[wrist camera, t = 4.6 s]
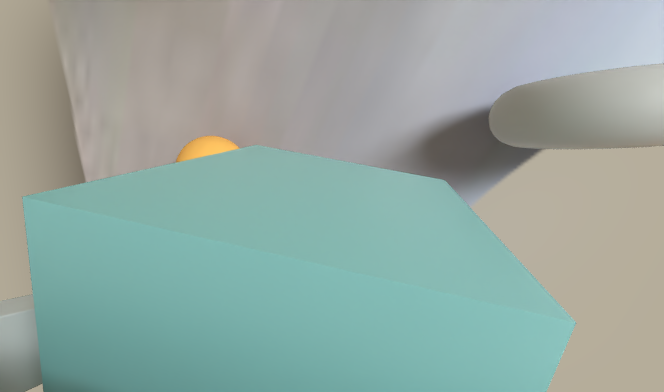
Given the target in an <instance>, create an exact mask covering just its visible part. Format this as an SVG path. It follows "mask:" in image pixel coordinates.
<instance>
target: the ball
mask: <svg viewBox="0 0 664 392" xmlns="http://www.w3.org/2000/svg"><path fill="white" fill-rule="evenodd" d="M235 149H240V148H239V147H238V146H236V145H235V144H234V143H233V142H231V141H229V140H227V139H225V138H222V137H218V136H204V137H200V138H197V139H195V140H193V141H191V142H190V143H188V144H187V145H186V146H185V147H184V148H183V149H182V150H181V152H180V154H179V155H178V158H177V160H176V163H177V162H181V161H186V160H190V159H195V158H199V157H204V156H208V155H213V154H217V153H222V152H226V151H231V150H235Z"/></svg>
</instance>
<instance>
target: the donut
mask: <svg viewBox="0 0 664 392" xmlns="http://www.w3.org/2000/svg"><path fill="white" fill-rule="evenodd" d="M488 120H489V126H490V130H491V131H492V133H493V135H494V136H495V137H496V138H497V139H498V140H499V141H500V142H502V143H505V144H507V145H510V146H513V147H521V148H534V149H608V148H609V149H611V148H635V147H652V146H664V64H651V65H642V66H633V67H624V68H616V69H608V70H601V71H594V72H587V73H580V74H574V75H568V76H562V77H556V78H551V79H546V80H541V81H537V82H532V83H528V84H524V85H521V86H517V87H515V88H513V89H511V90H509V91H507V92H506V93H504V94H502V95H501V96H500V97H499V98H498V99H497V100H496V101H495V103H494V104H493V106H492V108H491V110H490V114H489V119H488Z"/></svg>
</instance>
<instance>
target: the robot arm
mask: <svg viewBox="0 0 664 392" xmlns="http://www.w3.org/2000/svg"><path fill="white" fill-rule="evenodd" d="M42 383H43V382H42V373H41V363H40V354H39V345H38V336H37V327H36V318H35V308H34V299H33V294H32V295H27V296H22V297H17V298H12V299H8V300H2V301H0V392H25V391H27V390H29V389H32V388H34V387H36V386H38V385H40V384H42Z"/></svg>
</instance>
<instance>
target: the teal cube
mask: <svg viewBox="0 0 664 392" xmlns="http://www.w3.org/2000/svg"><path fill="white" fill-rule="evenodd" d="M22 199H23V208H24V216H25V226H26V235H27V244H28V253H29V263H30V271H31V281H32V290H33V299H34V308H35V318H36V327H37V336H38V345H39V354H40V363H41V373H42V382H43V391H44V392H546V391H547V389H548V386H549V384H550V382H551V379H552V377H553V375H554V373H555V371H556V368H557V366H558V364H559V361H560V359H561V356H562V354H563V352H564V350H565V347H566V345H567V343H568V341H569V338H570V336H571V334H572V331H573V329H574V326H575V324H576V322H575V321H574V320H573V319H572V318H571V316H570V315H569V314H568V313H567V312H566V311H565V310H564V309H563V308H562V307H561V306H560V305H559V304H558V303H557V301H556V300H555V299H554V298H553V297H552V296H551V295H550V294H549V293H548V292H547V290H546V289H545V288H544V287H543V286H542V285H541V284H540V283H539V282H538V281H537V280H536V278H534V276H533V275H532V274H531V273H530V272H529V271H528V270H527V269H526V268H525V267H524V265H522V263H521V262H520V261H519V260H518V259H517V258H516V257H515V256H514V255H513V254H512V253H511V251H510V250H509V249H508V248H507V247H506V246H505V245H504V244H503V243H502V242H501V241H500V240H499V238H498V237H497V236H496V235H495V234H494V233H493V232H492V231H491V230H490V229H489V228H488V227H487V225H486V224H485V223H484V222H483V221H482V220H481V219H480V218H479V217H478V216H477V215H476V213H475V212H474V211H473V210H472V209H471V208H470V207H469V206H468V205H467V204H466V203H465V202H464V200H463V199H462V198H461V197H460V196H459V195H458V194H457V193H456V192H455V191H454V190H453V188H452V187H451V186H450V185H449V184H448V183H447V182H446V181H445V180H442V179H436V178H431V177H426V176H420V175H415V174H409V173H404V172H399V171H393V170H388V169H383V168H377V167H372V166H367V165H361V164H356V163H350V162H345V161H340V160H334V159H329V158H324V157H318V156H313V155H308V154H302V153H297V152H291V151H286V150H281V149H275V148H270V147H265V146H259V145H253V146H249V147H244V148H240V149H235V150H231V151H226V152H222V153H217V154H213V155H208V156H204V157H199V158H195V159H190V160H186V161H181V162H177V163H172V164H168V165H163V166H159V167H154V168H150V169H145V170H141V171H136V172H132V173H127V174H123V175H118V176H114V177H109V178H105V179H100V180H96V181H91V182H87V183H82V184H78V185H73V186H68V187H64V188H60V189H55V190H51V191H46V192H41V193H37V194H32V195H28V196H23V197H22Z"/></svg>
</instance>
